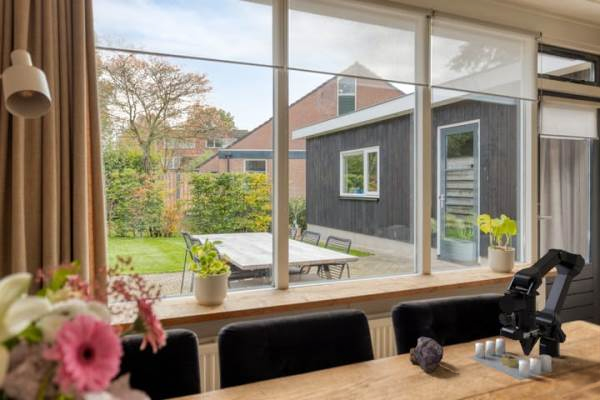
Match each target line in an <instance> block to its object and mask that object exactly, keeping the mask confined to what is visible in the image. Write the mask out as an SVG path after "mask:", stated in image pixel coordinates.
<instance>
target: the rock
mask: <svg viewBox="0 0 600 400" xmlns="http://www.w3.org/2000/svg"><path fill="white" fill-rule="evenodd" d="M409 356H410V357H409V361H410V363H412V364H413V365H418V366H419V367H420V368H421V369H423V371H424V372H427V373H434V372H435V371H436V369H437V367H439V364H440V362H441V361H442V360H443V358H444V348H443V346H442V345H440V344H439V343H438V342H437V341H436V340H435V339H433V338H431V337H427V336H420V337H419V338H418V339H417V345H416V347H412V348H410V351H409Z"/></svg>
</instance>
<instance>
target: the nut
mask: <svg viewBox="0 0 600 400" xmlns="http://www.w3.org/2000/svg"><path fill="white" fill-rule="evenodd" d="M513 355H514V354H513ZM513 355H503V356H502V364H503V365H505V366H507V367H517V366H518V357H519V356H518V357H515V356H513Z"/></svg>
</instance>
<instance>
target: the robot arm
mask: <svg viewBox="0 0 600 400" xmlns="http://www.w3.org/2000/svg"><path fill="white" fill-rule="evenodd" d="M585 265H586V259H585V258H584V257H583V255H581V254H579V253H573V252H568V251H567V250H564V249H562V248H561V249H560V248H554V247H552V248H549V249H547V252H546V253H545V254H544V255H543V256H542V257H541V258H539V259H537V261H535V263H533V264H532V265H531V266H529V267H524V268H522V269H520V270H518V271H516V272H515V273H514V275H513V277H512V279H511V282H510V283H509V285H508V288H507V289H506V291H504V294H503V295H502V296H501V297H500V298H499V300H498V306H499V309H500V310H501V311H502V312H503V313H500V314H499V316H498V317H499V318H498V319H499V320H498V321H499V322H500V324H503V326H504V327H501V328H500V336H501V337H504V338H507V339H509V340H512V341H519V345H520V346H521V349H522V351H523V355H524V356H526V357H528V356H530V354H531V353H532V351H533V349H534V348H535V345H536V344H537V342H539V344H538V355H539V356H541V355H549V356H551V358H557V359H558V358H559V359H564V358H565V356H564V355H562V354H560V350H561V347H560V346H561V345H560V344H564V343H565V342H566V340H567V334H566V333H565V332H564V331H563V329H562V326H563V323H562V320H561V317H560V315H561V311H562V309H563V307H564V303H565V301H566V297H567V295H568V292H569V291H570V287H571V285H572V282H573V279H574V278H576V277H577V276H579V275H580V274H581V273H582V270H583V268H584V267H585ZM554 268H555V270H556V275H555V279H554V280H553V281H554V282H553V283H552V286H551V289H550V292H549V294H548V297H547V299H546V303H545V305H544V307H543V309H542V310H538V309H537V296H540V292H539V291H537V290H538V289H539V288H540V287H541V285H543V278H544V277H545V276H546V275H548V274H549V273H550V272H551V270H553V269H554ZM509 314H510V315H509ZM510 325H511V326H510Z"/></svg>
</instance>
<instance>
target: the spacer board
mask: <svg viewBox="0 0 600 400" xmlns="http://www.w3.org/2000/svg"><path fill="white" fill-rule="evenodd" d="M503 355H513V356H515V357H518V366H517V367H507V366H505V365H503V364H502V356H503ZM468 358H469V359H471V360H473V361H475V362H478V363H480V364H482V365H485V366H487V367H489V368H491V369H494V370H495V371H498V372H500V373H503V374H505V375H507V376H508V377H511V378H513V379H516V380H519V381H522V380H523V381H524V380H526V379H529V378H533V377H538V376H540V375H544V374H547V373H551V372H555V370H554V369H552V357H551V356H549V355H540V358H539V357H535V356H530V357H529V360H528V359H526V358H523V357H521V356H518V355H516V354H512V353H510V352H508V351H506V339H504V338H496V339H495V341H494V340H486V341H485V343H482V342H475V355H473V356H469V357H468Z"/></svg>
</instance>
